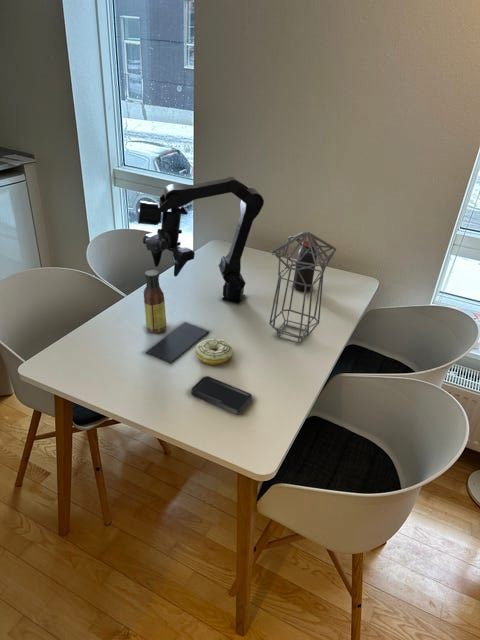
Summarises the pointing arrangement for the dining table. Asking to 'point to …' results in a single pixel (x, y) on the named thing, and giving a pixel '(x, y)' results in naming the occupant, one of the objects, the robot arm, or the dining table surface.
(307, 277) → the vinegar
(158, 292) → the sauce bottle
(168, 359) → the mat
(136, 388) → the dining table surface
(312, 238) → the geometric lantern
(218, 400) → the phone
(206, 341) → the decorated donut
